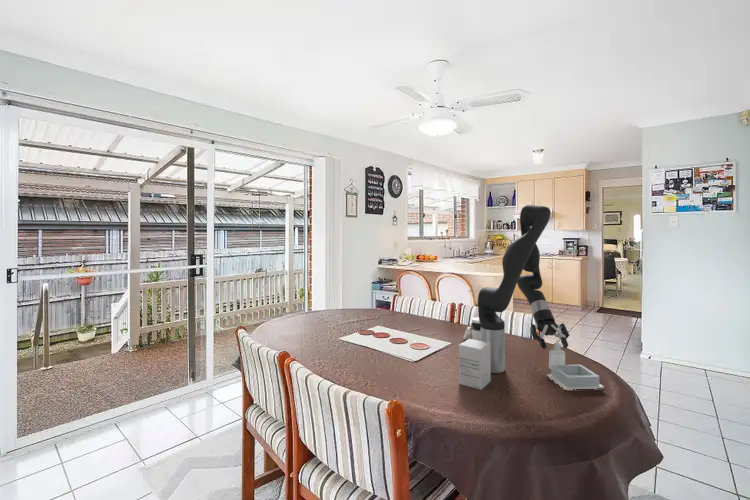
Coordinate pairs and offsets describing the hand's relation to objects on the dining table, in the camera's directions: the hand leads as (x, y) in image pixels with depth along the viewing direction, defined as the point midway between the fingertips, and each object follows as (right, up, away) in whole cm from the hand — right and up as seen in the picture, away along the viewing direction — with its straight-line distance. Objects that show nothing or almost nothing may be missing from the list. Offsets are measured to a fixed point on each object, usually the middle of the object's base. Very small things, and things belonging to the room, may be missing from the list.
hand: (555, 348), depth 148 cm
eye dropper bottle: (0, -9, -1) cm, 9 cm away
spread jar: (-22, -7, +38) cm, 44 cm away
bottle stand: (+1, -9, -13) cm, 16 cm away
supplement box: (-35, -10, -11) cm, 38 cm away
